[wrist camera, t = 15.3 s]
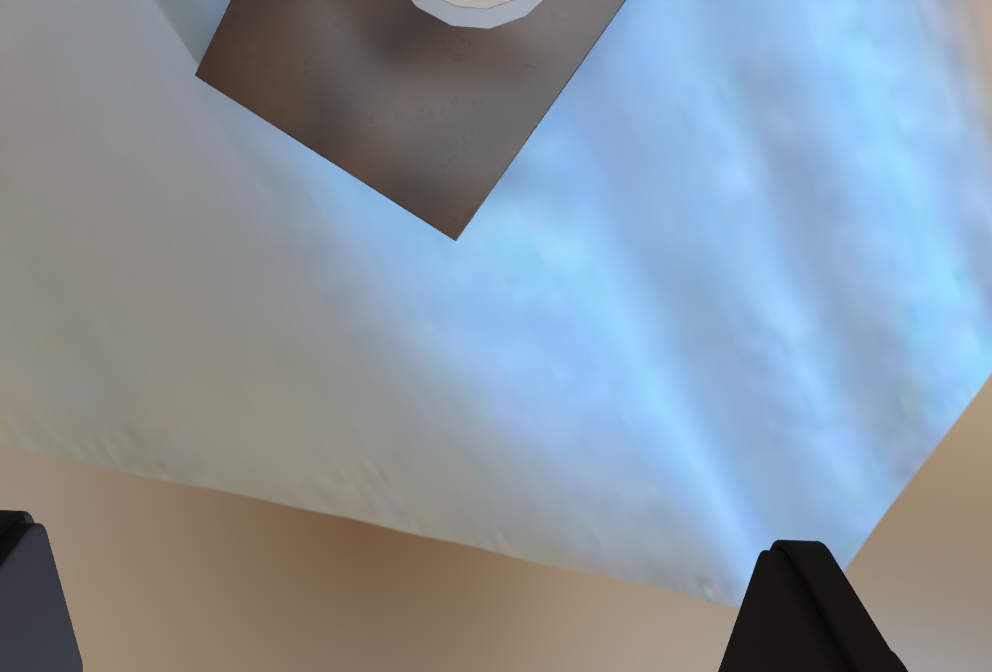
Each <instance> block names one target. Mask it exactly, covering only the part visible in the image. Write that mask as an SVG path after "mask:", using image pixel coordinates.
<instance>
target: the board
mask: <svg viewBox="0 0 992 672" xmlns="http://www.w3.org/2000/svg"><path fill="white" fill-rule="evenodd" d="M625 1H626V0H542V1H541V2H540V3H539V4H538V5H537V6H536V7H535V8H534V9H533V10H531V11H530V12H529V13H528V14H527V15H526V16H524V17H521V18H518V19H515V20H512V21H510V22H507V23H504V24H501V25H498V26H496V27H493V28H490V29H488V28H476V27H464V26H451V25H450V24H448V23H446V22H444V21H442V20H440V19H439V18H437V17H435V16H433V15H431V14H429V13H428V12H426V11H424V10H422V9H420V8H418V7H416V5H415V4H414V3H413V2H412V0H231V2H230V4H229V6H228V8H227V10H226V12H225V14H224V16H223V18H222V20H221V22H220V24H219V26H218V28H217V31H216V33H215V35H214V37H213V39H212V41H211V43H210V45H209V47H208V49H207V51H206V53H205V55H204V57H203V59H202V62H201V64H200V66H199V68H198V70H197V72H196V74H195V76H197V77H198V78H200V79H201V80H203V81H204V82H206V83H208V84H209V85H211V86H212V87H214V88H215V89H217V90H219V91H220V92H222V93H223V94H225V95H226V96H228V97H230V98H231V99H233V100H234V101H236V102H238V103H239V104H241V105H242V106H244V107H245V108H247V109H249V110H250V111H252V112H253V113H255V114H256V115H258V116H260V117H261V118H263V119H264V120H266V121H267V122H269V123H271V124H272V125H274V126H275V127H277V128H278V129H280V130H282V131H283V132H285V133H286V134H288V135H289V136H291V137H293V138H294V139H296V140H297V141H299V142H300V143H302V144H304V145H305V146H307V147H308V148H310V149H311V150H313V151H315V152H316V153H318V154H319V155H321V156H323V157H324V158H326V159H327V160H329V161H330V162H332V163H334V164H335V165H337V166H338V167H340V168H341V169H343V170H345V171H346V172H348V173H349V174H351V175H352V176H354V177H356V178H357V179H359V180H360V181H362V182H363V183H365V184H367V185H368V186H370V187H371V188H373V189H374V190H376V191H378V192H379V193H381V194H382V195H384V196H385V197H387V198H389V199H390V200H392V201H393V202H395V203H396V204H398V205H400V206H401V207H403V208H404V209H406V210H407V211H409V212H411V213H412V214H414V215H415V216H417V217H419V218H420V219H422V220H423V221H425V222H426V223H428V224H430V225H431V226H433V227H434V228H436V229H437V230H439V231H441V232H442V233H444V234H445V235H447V236H448V237H450V238H452V239H453V240H455V241H456V240H457V239H458V237H459V236H460V234H461V233H462V232H463V230H464V229H465V227H466V226H467V225H468V223H469V222H470V220H471V219H472V217H473V216H474V215H475V213H476V212H477V210H478V209H479V208H480V206H481V205H482V203H483V202H484V200H485V199H486V198H487V196H488V195H489V193H490V192H491V191H492V189H493V188H494V186H495V185H496V183H497V182H498V181H499V179H500V178H501V176H502V175H503V174H504V172H505V171H506V169H507V168H508V166H509V165H510V164H511V162H512V161H513V159H514V158H515V157H516V155H517V154H518V152H519V151H520V149H521V148H522V147H523V145H524V144H525V142H526V141H527V140H528V138H529V137H530V135H531V134H532V132H533V131H534V130H535V128H536V127H537V125H538V124H539V123H540V121H541V120H542V118H543V117H544V115H545V114H546V113H547V111H548V110H549V108H550V107H551V106H552V104H553V103H554V101H555V100H556V98H557V97H558V96H559V94H560V93H561V91H562V90H563V89H564V87H565V86H566V84H567V83H568V81H569V80H570V79H571V77H572V76H573V74H574V73H575V72H576V70H577V69H578V67H579V66H580V64H581V63H582V62H583V60H584V59H585V57H586V56H587V55H588V53H589V52H590V50H591V49H592V47H593V46H594V45H595V43H596V42H597V40H598V39H599V38H600V36H601V35H602V33H603V32H604V30H605V29H606V28H607V26H608V25H609V23H610V22H611V21H612V19H613V18H614V16H615V15H616V13H617V12H618V11H619V9H620V8H621V6H622V5H623V4H624V2H625Z"/></svg>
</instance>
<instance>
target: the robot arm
mask: <svg viewBox="0 0 992 672" xmlns="http://www.w3.org/2000/svg"><path fill="white" fill-rule="evenodd" d="M82 671H83V665H82V660H81V656H80V652H79V649H78V645H77V641H76V638H75V635H74V631H73V627H72V623H71V619H70V616H69V612H68V608H67V605H66V601H65V598H64V594H63V590H62V587H61V583H60V579H59V576H58V572H57V569H56V565H55V561H54V557H53V554H52V550H51V547H50V543H49V539H48V535H47V532H46V529H45V527H44V526H43V525H42V524H38V523H34V521H33V518H32V516H31V515H30V514H29V513H28V512H26V511H9V510H0V672H82ZM718 672H908V671H907V669H906V667H905V666H904V664H903V663H902V662H901V661H900V659H899V658H898V657H897V655H896V654H895V653H894V652H893V651H891V650H890V648H889V647H888V645H887V643H886V642H885V640H884V639H883V637H882V635H881V634H880V632H879V630H878V629H877V627H876V626H875V624H874V622H873V621H872V619H871V617H870V616H869V614H868V612H867V611H866V609H865V608H864V606H863V604H862V603H861V601H860V599H859V598H858V596H857V595H856V593H855V591H854V590H853V588H852V586H851V585H850V584H849V582H848V580H847V578H846V577H845V575H844V573H843V572H842V570H841V569H840V567H839V565H838V564H837V562H836V560H835V559H834V557H833V556H832V554H831V552H830V551H829V549H828V548H827V547H826V546H825V544H823V543H821V542H820V541H797V540H777V541H775V542H774V543H773V544H772V546H771V548H770V550H763V551H762V552H761V553H760V555H759V557H758V559H757V562H756V565H755V568H754V571H753V574H752V577H751V579H750V582H749V585H748V588H747V591H746V594H745V597H744V599H743V602H742V605H741V608H740V611H739V614H738V617H737V620H736V622H735V625H734V628H733V631H732V634H731V637H730V640H729V643H728V645H727V648H726V651H725V654H724V657H723V660H722V663H721V665H720V668H719V671H718Z"/></svg>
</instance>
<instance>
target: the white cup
mask: <svg viewBox="0 0 992 672" xmlns="http://www.w3.org/2000/svg"><path fill="white" fill-rule="evenodd" d="M541 1H542V0H412V2H413V3H414V4H415V5H416V7H418V8H420V9H422V10H424V11H426V12H428V13H429V14H431V15H433V16H435V17H437V18H439V19H440V20H442V21H444V22H446V23H448V24H450V25H451V26H464V27H476V28H488V29H490V28H493V27H496V26H498V25H501V24H504V23H507V22H510V21H512V20H515V19H518V18H521V17H524V16H526V15H527V14H528V13H529V12H530V11H531V10H533V9H534V8H535V7H536V6H537V5H538V4H539V3H540V2H541Z"/></svg>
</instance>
